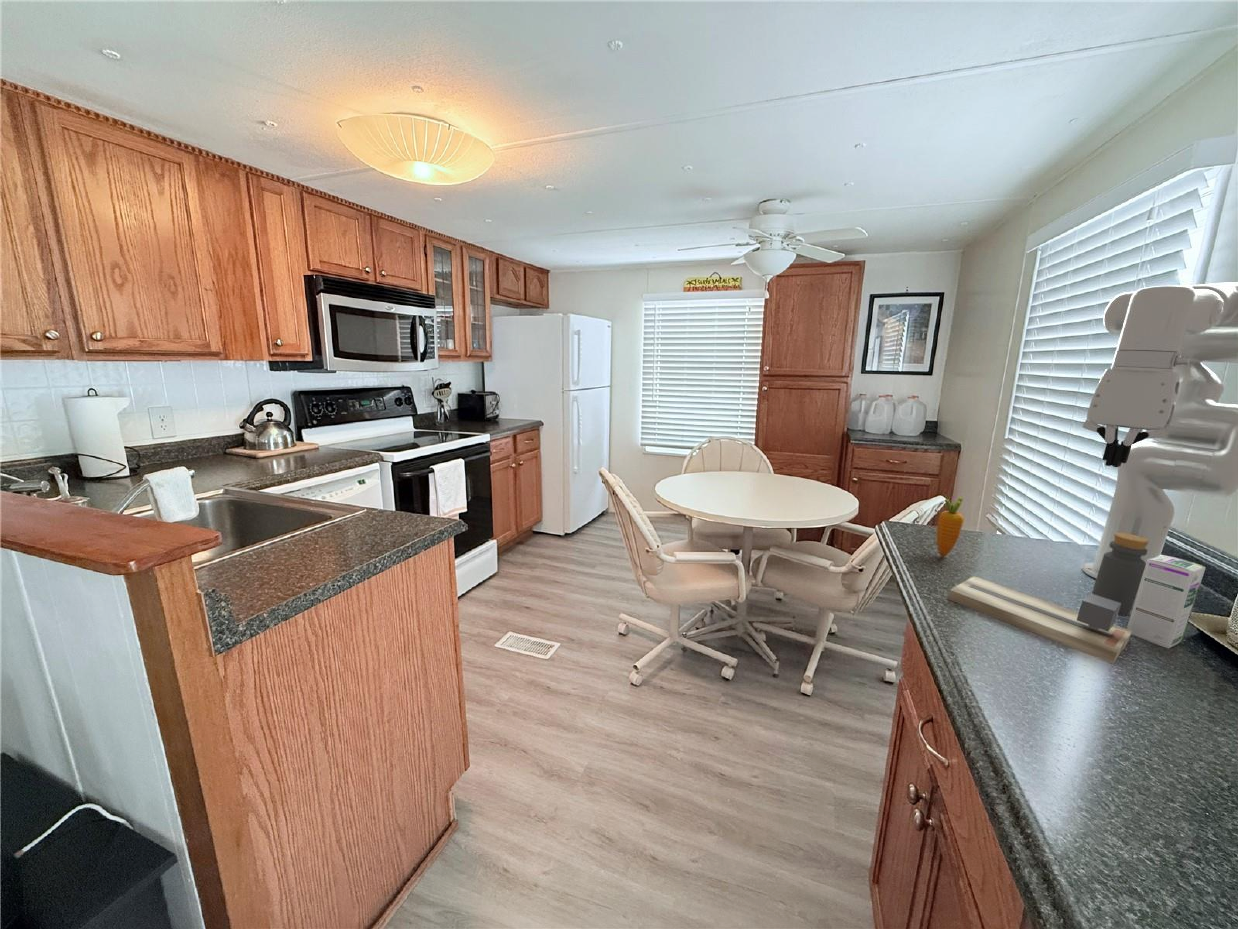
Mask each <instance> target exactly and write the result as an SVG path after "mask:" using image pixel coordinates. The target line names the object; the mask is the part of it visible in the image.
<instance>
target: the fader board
mask: <svg viewBox="0 0 1238 929" xmlns="http://www.w3.org/2000/svg"><path fill="white" fill-rule="evenodd" d="M947 599H948V600H949V601H952V602H954V603H957V604H960V605H962V606H965V607H967V608H970V609H972V610H975V611H977V612H980V613H982V614H985V615H988V616H991V617H993V618H996V619H998V620H1000V621H1003V622H1005V623H1008V624H1011V625H1014V626H1016V627H1019V628H1021V629H1024V630H1026V631H1029V632H1031V633H1033V634H1036V635H1039V636H1042V637H1044V638H1046V639H1048V640H1052V641H1054V642H1056V643H1059V644H1062V645H1064V646H1066V647H1069V648H1072V649H1074V650H1077V651H1079V652H1082V653H1084V654H1087V655H1089V656H1092V657H1094V658H1097V657H1098V659H1099V658H1100V660H1102V661H1105V662H1107V663H1110V664H1112V665H1113V664H1114V663H1116V662H1115V661H1116V660H1117V659H1118V658H1119V656H1120V655H1121V653H1122V652H1123V650H1124V649H1125V648H1126V646H1127V645H1128V643H1129V642H1130V640H1131V637H1132V631H1131V630H1128V629H1127V628H1125V627H1122V626H1119V625H1116V624H1114V625H1113V626H1112V627H1111V629H1110V630H1109V631H1105V630H1102V629H1099V630H1098V631H1097V630H1094V629H1092V628H1089V627H1088V626H1089V625H1088V624H1085V623H1082V622H1080V621H1077V617H1078V613H1079V611H1075V610H1072V609H1070V608H1067V607H1064V606H1061V605H1059V604H1055V603H1053V602H1050V601H1046V600H1045V599H1041V598H1038V597H1035V596H1032V595H1029V594H1027V593H1023V592H1021V591H1018V590H1016V589H1012V588H1009V587H1006V586H1004V585H1000V584H999V583H998V584H997V583H995V582H993V581H989V580H986V579H984V578H981V577H978V576H975V575H974V576H971V577H970V578H968V579H966V580H965V581H963V582H961V583H959V584H957V585H955V586H954V587H952V588H950V589H949V591H948V596H947Z"/></svg>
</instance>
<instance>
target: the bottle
mask: <svg viewBox="0 0 1238 929" xmlns="http://www.w3.org/2000/svg"><path fill="white" fill-rule="evenodd" d="M1148 543H1149V540H1147V539H1145V538H1142V537H1139V536H1136V535H1131V534H1126V533H1115V534H1114V541H1111V542H1110V545H1109V546H1110V548H1112V552H1107V553H1105V554H1104V556H1103V559H1102V562H1101V565H1100V569H1099V572H1098V575H1097V578H1096V579H1095V582H1094V584H1093V589H1092V593H1091V594H1094V595H1097V596H1100V597H1104V598H1107V599H1110V600H1113V601H1116V602H1119V603H1121V606H1120V609H1119V612H1118V616H1120V615H1121V616H1128V615H1129V616H1130V615H1131V612H1132V609H1133V605H1134V602H1135V599H1136V595H1137V592H1138V588H1139V585H1140V582H1141V579H1142V576H1143V572H1144V569H1145V566H1146V563H1145V562H1144V561H1143V560H1142V559H1141V556H1144V555H1146V554H1147V549H1145V547H1146V546H1147V544H1148Z"/></svg>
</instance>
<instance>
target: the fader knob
mask: <svg viewBox="0 0 1238 929" xmlns="http://www.w3.org/2000/svg"><path fill="white" fill-rule="evenodd" d="M1120 606H1121V603H1119V602H1116V601H1113V600H1110V599H1107V598H1104V597H1100V596H1097V595H1094V594H1092V593H1091V592H1090V593H1089V594H1087V595H1086V596H1085V597H1084V598H1083V599H1082V601H1081V603H1080V607H1079V611H1078V612H1079V613H1078V617H1077V621H1080V622H1082V623H1085V624H1088V625H1089V626H1088V627H1089V628H1092V629H1094V630H1097V631H1098V630H1099V629H1102V630H1105V631H1109V630H1110V629H1111V627H1112V626H1113V625H1116V621H1117V618H1118V616H1119V614H1118V612H1119V609H1120Z"/></svg>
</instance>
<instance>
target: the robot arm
mask: <svg viewBox="0 0 1238 929" xmlns="http://www.w3.org/2000/svg"><path fill="white" fill-rule="evenodd" d="M1102 317H1103V320H1102V322H1103V325H1104V328H1105V330H1106V331H1107V332H1108V333H1109V334H1111V335H1120V336H1119V338H1118V342H1117V343H1118V344H1117V347H1116V350H1115V354H1114V355H1113V356H1114V357H1113V360H1112V361H1113V362H1112V363H1111V366H1110V368H1105V370H1104V371H1103V374H1102V375H1101V377H1100V379H1099V382H1098V383H1097V386H1096V388H1095V390H1094V393H1093V396H1092V398H1091V401H1090V404H1089V406H1088V411H1087V414H1086V419H1085V420H1084V423H1083V425H1082V428H1083V429H1085V430H1088V431H1091V432H1095V433H1097V434H1098V435H1099V436H1101V438H1102V439H1103V440H1104V442H1105V443H1106V445H1105V448H1104V451H1103V456H1102V461H1105V464H1104V466H1105V467H1106V466H1107V467H1110V466H1111V467H1113V468H1117V475H1116V478H1117V479H1116V486H1115V489H1114V494H1113V498H1112V501H1111V505H1110V508H1109V512H1108V515H1107V518H1106V522H1105V525H1104V528H1103V532H1102V534H1101V539H1100V541H1099V545H1098V548H1097V550H1096V555H1095V558H1094V562H1087V563H1084V564H1083V565H1082V571H1083V572H1084V573H1085V574H1086V575H1087V576H1090V577H1092V578H1094V579H1095V580H1096V578H1097V575H1098V572H1099V569H1100V565H1101V562H1102V559H1103V556H1104V554H1105V553H1107V552H1112V548H1110V546H1109V545H1110V542H1111V541H1114V534H1115V533H1126V534H1131V535H1136V536H1139V537H1142V538H1145V539H1147V540H1149V543H1148V544H1147V546H1146V547H1145V549H1147V554H1146V555H1144V556H1141V559H1142V560H1143V561H1144V562H1145V563H1146V562H1147V560H1148V559H1151V558H1153V557H1157V556H1159V555H1161V554H1162V552H1163V549H1164V546H1165V543H1166V540H1167V537H1168V533H1169V530H1170V528H1171V525H1172V522H1173V519H1174V516H1175V507H1174V503H1173V502H1172V501H1171V499H1170V498H1169V496H1168V495H1167V493H1166V492H1165V491H1164V490H1166V491H1167V490H1170V491H1175V492H1176V491H1177V492H1181V493H1186V494H1190V495H1191V494H1193V495H1199V496H1203V497H1204V496H1205V497H1209V498H1210V497H1211V498H1218V499H1219V498H1226V497H1230V496H1232V495H1233V494H1235V493H1236V491H1237V490H1238V404H1233V403H1231V404H1230V403H1220V402H1219V401H1220V399H1221V397H1222V394H1223V393H1224V390H1225V387H1224V384H1223V382H1222V380H1221V379H1220V378H1219V377H1218V375H1217V374H1216V373H1215V372H1213V371H1212V370H1211V369H1210V368H1208V367H1207V366H1206V365H1204V364H1203V362H1206V363H1211V362H1212V363H1231V364H1232V363H1233V364H1238V281H1237V282H1236V281H1235V282H1216V283H1215V282H1214V283H1205V284H1193V285H1158V286H1157V285H1156V286H1147V287H1143V288H1139V289H1138V290H1136V291H1130V292H1128V291H1127V292H1122V293H1120V294H1117V295H1116V296H1115V297H1114V298H1113V299H1112V300H1111V301H1110V302H1109V303H1108V305H1107V306H1106V307H1105V310H1104V314H1103V316H1102ZM1119 428H1125V429H1129V430H1128V431H1127V433H1126V435H1125V437H1124V439H1123V440H1122V441H1121V442H1120V439H1118V438H1119ZM1143 430H1145V431H1143ZM1145 439H1146V440H1145ZM1148 439H1152V440H1148ZM1119 442H1120V443H1119ZM1138 589H1139V588H1138Z"/></svg>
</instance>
